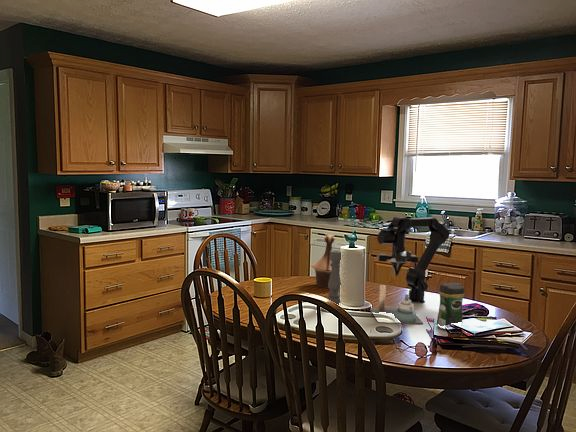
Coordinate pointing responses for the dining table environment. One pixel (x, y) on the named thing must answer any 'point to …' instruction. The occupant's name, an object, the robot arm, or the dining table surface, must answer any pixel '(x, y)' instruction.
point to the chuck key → (403, 306)
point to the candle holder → (334, 277)
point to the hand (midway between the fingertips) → (396, 275)
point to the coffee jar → (450, 303)
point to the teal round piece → (405, 316)
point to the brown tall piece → (324, 264)
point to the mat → (394, 312)
